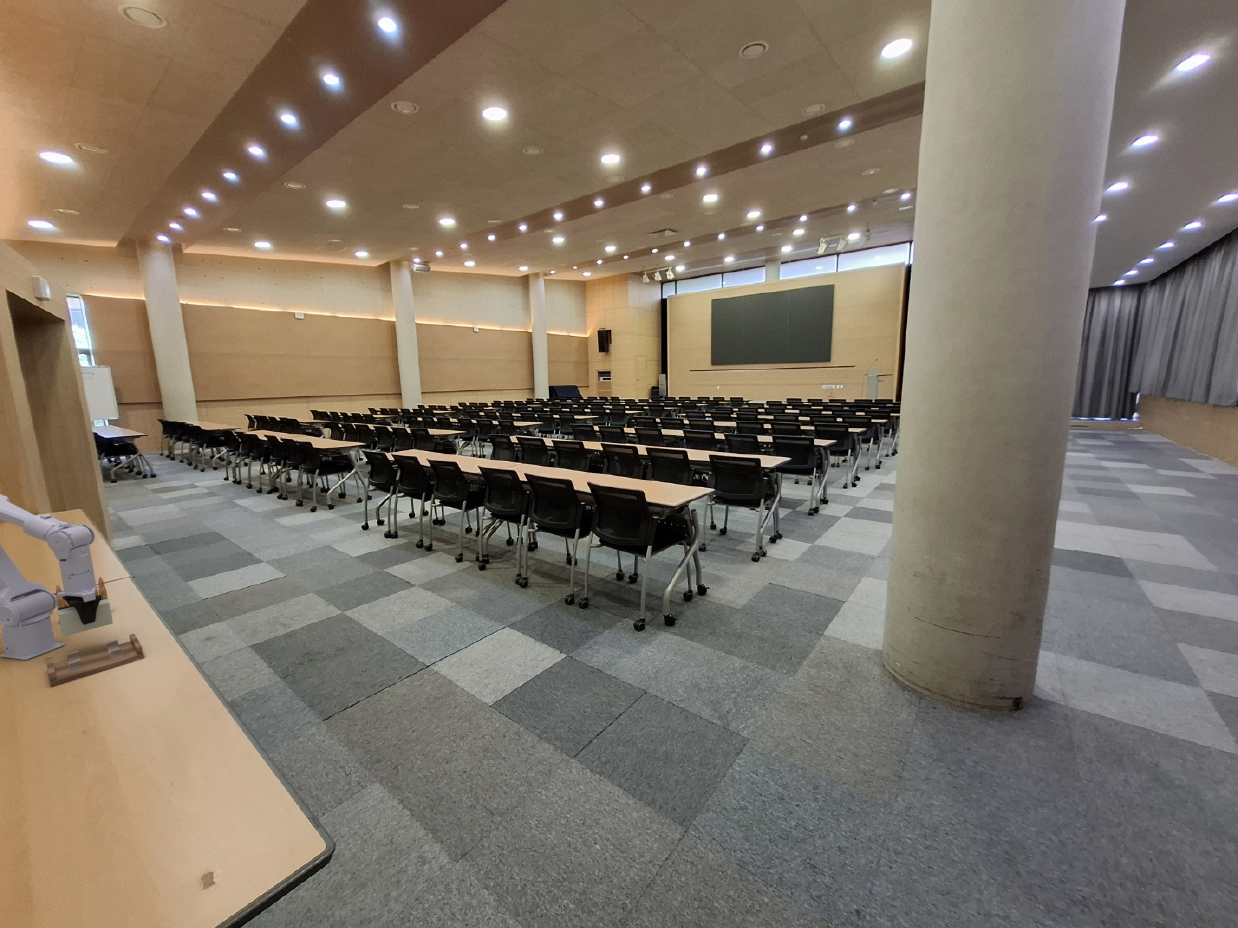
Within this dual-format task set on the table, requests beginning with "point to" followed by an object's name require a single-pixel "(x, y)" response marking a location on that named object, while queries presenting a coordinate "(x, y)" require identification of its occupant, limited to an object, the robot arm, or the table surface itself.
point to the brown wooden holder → (94, 661)
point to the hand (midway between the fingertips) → (86, 620)
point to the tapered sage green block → (73, 623)
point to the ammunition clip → (62, 605)
